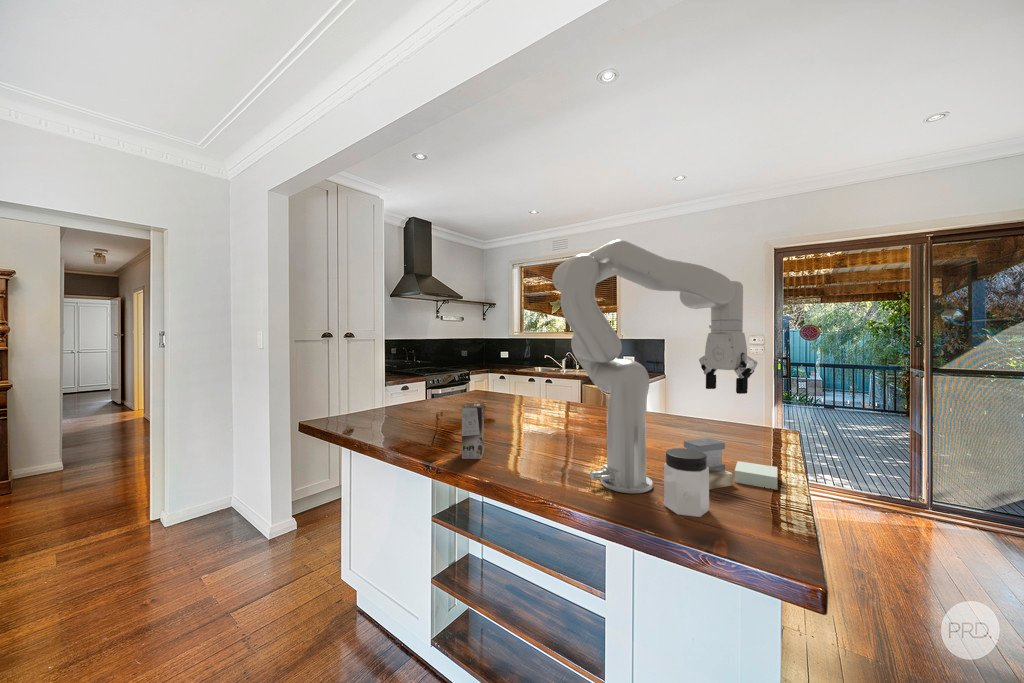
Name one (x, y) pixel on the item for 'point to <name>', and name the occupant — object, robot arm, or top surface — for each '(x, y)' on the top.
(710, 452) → the housing
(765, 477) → the stand
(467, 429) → the coffee box
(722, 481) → the stand
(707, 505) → the jar
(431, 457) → the top surface
